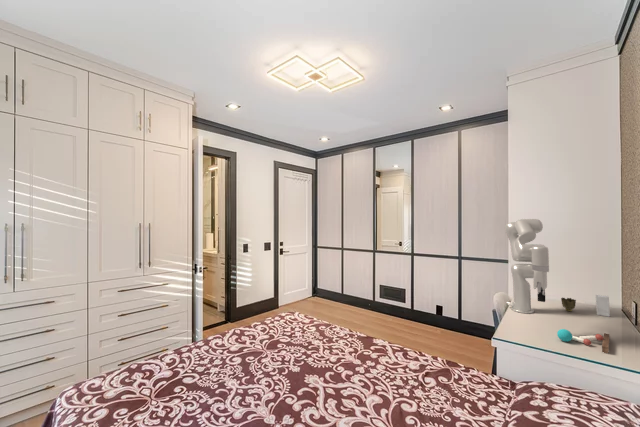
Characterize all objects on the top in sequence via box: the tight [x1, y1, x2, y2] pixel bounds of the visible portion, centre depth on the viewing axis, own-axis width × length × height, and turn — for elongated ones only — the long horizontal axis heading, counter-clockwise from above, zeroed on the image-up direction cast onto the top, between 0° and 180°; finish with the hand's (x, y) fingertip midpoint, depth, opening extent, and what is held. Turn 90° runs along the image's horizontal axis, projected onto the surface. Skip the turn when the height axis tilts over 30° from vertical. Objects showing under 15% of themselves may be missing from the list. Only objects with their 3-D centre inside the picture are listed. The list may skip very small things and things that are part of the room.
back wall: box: [601, 332, 611, 354], centre depth 141 cm, size 2×20×3 cm, turn 133°
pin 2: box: [579, 333, 604, 342], centre depth 144 cm, size 3×3×9 cm
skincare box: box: [595, 294, 611, 317], centre depth 181 cm, size 6×4×12 cm
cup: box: [560, 297, 577, 313], centre depth 190 cm, size 8×7×8 cm
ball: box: [556, 328, 573, 343], centre depth 147 cm, size 6×6×6 cm
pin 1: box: [571, 335, 592, 346], centre depth 145 cm, size 3×3×9 cm
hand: (541, 301), depth 159 cm, fingers closed
